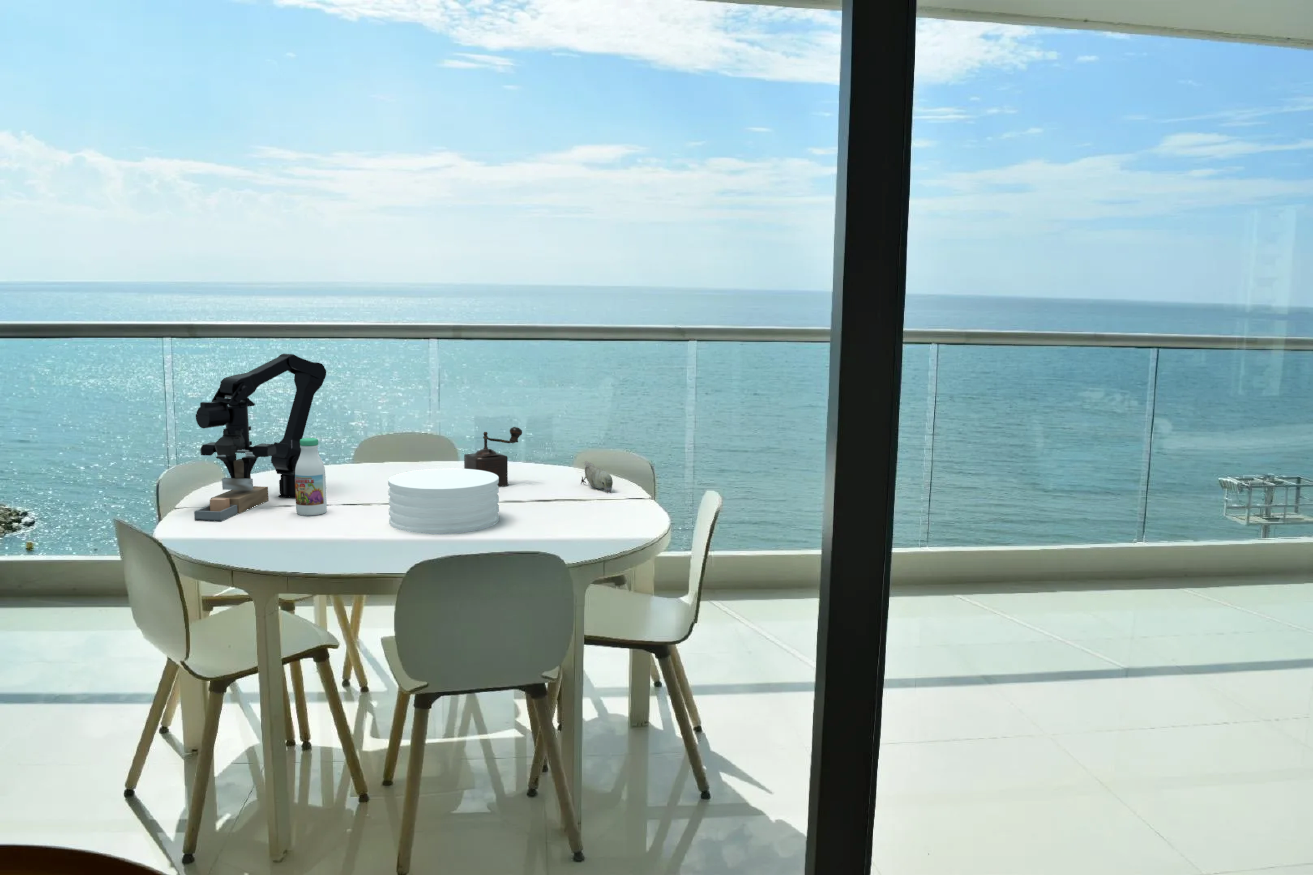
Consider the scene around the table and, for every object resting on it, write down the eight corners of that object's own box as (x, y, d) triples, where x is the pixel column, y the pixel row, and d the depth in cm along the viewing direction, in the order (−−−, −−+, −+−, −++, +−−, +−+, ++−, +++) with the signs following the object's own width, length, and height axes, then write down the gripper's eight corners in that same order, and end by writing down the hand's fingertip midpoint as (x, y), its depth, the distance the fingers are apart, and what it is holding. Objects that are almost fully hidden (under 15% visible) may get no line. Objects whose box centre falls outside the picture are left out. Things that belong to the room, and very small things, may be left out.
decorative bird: (601, 494, 295) (601, 470, 294) (577, 485, 309) (577, 461, 308) (617, 493, 298) (617, 468, 297) (593, 483, 312) (593, 460, 311)
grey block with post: (260, 485, 273) (258, 459, 272) (251, 490, 268) (249, 463, 266) (232, 485, 274) (230, 458, 272) (222, 489, 268) (220, 462, 267)
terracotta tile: (229, 498, 260) (224, 500, 258) (230, 512, 261) (225, 515, 259) (214, 497, 261) (209, 499, 258) (215, 512, 261) (210, 514, 259)
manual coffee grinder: (478, 490, 298) (477, 430, 296) (463, 483, 307) (462, 426, 305) (524, 485, 307) (524, 427, 304) (509, 479, 316) (508, 422, 313)
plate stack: (372, 517, 262) (371, 474, 260) (468, 505, 279) (468, 464, 277) (416, 539, 240) (415, 493, 238) (518, 524, 257) (518, 481, 255)
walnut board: (268, 500, 279) (267, 486, 278) (239, 513, 262) (238, 499, 262) (242, 499, 279) (241, 485, 279) (211, 512, 263) (210, 498, 262)
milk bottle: (302, 509, 269) (299, 436, 266) (330, 509, 269) (328, 436, 266) (291, 516, 261) (289, 440, 258) (321, 516, 261) (318, 441, 258)
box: (237, 514, 262) (237, 504, 262) (220, 521, 254) (220, 512, 253) (212, 513, 262) (211, 504, 262) (194, 520, 254) (194, 511, 254)
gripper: (187, 427, 260) (191, 485, 263) (256, 429, 259) (259, 487, 261) (209, 421, 271) (213, 477, 274) (275, 423, 270) (278, 479, 272)
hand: (240, 480), depth 270 cm, fingers closed on grey block with post, 3 cm apart
